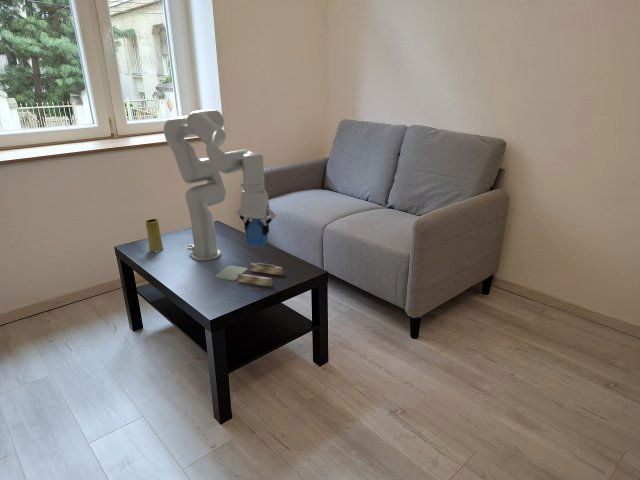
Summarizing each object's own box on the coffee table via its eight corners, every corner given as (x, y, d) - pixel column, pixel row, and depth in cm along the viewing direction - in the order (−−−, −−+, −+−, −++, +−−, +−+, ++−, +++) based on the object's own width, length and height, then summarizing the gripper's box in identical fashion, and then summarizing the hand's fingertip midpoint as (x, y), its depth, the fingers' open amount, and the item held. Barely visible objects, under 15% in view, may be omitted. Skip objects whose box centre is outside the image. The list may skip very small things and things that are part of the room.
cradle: (237, 281, 172) (237, 273, 171) (251, 269, 182) (250, 261, 181) (270, 286, 168) (270, 278, 166) (282, 274, 178) (282, 265, 176)
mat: (214, 277, 175) (214, 276, 175) (228, 266, 185) (228, 265, 185) (234, 280, 173) (234, 279, 172) (247, 269, 182) (247, 268, 182)
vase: (166, 248, 204) (161, 219, 199) (155, 253, 199) (150, 223, 194) (157, 246, 207) (152, 217, 202) (146, 250, 203) (141, 221, 197)
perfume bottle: (262, 246, 166) (261, 216, 162) (247, 245, 167) (245, 215, 163) (267, 240, 172) (266, 211, 167) (252, 239, 173) (250, 210, 169)
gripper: (228, 188, 161) (231, 233, 167) (271, 192, 155) (273, 239, 162) (238, 183, 167) (241, 227, 174) (280, 186, 162) (281, 232, 169)
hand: (257, 232), depth 168 cm, fingers closed on perfume bottle, 6 cm apart
